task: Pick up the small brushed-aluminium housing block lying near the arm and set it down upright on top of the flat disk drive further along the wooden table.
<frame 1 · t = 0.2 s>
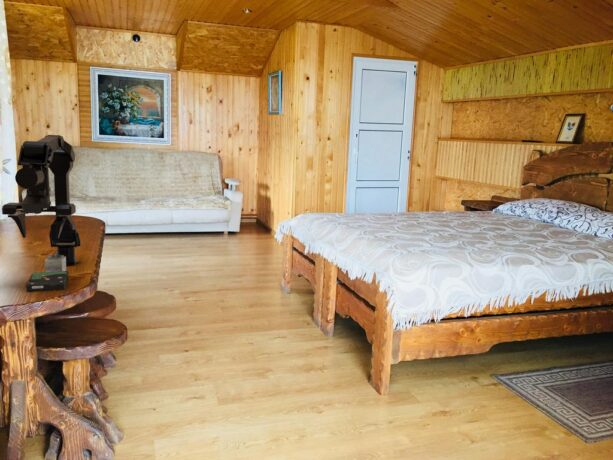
hand: (41, 237, 160), 14 cm above the table, tool pointing down, fingers open, 9 cm apart
disk drive: (48, 286, 162), on the table
housing: (56, 273, 175), on the table
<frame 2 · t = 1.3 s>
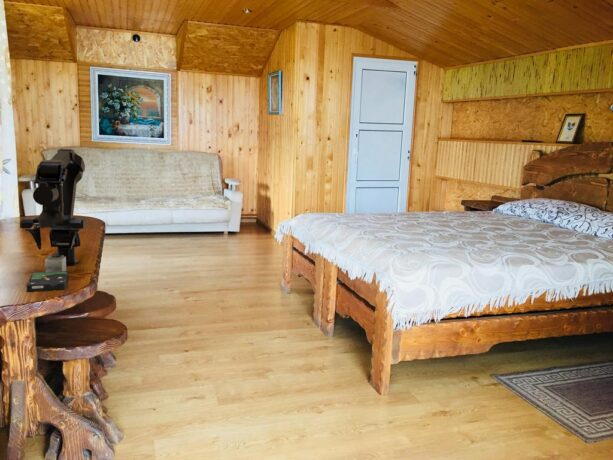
hand: (55, 249, 174), 8 cm above the table, tool pointing down, fingers open, 9 cm apart
nothing on the table moved.
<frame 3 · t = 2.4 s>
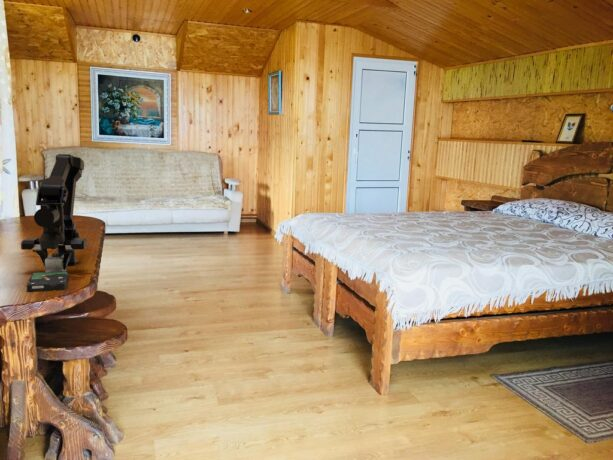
hand: (56, 269, 175), 1 cm above the table, tool pointing down, fingers closed on housing, 5 cm apart
housing: (56, 272, 175), on the table, touching gripper
everything else where it was.
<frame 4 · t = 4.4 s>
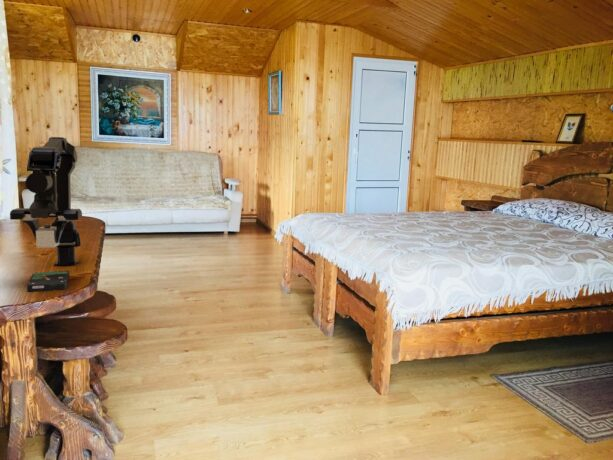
hand: (47, 242, 162), 12 cm above the table, tool pointing down, fingers closed on housing, 5 cm apart
housing: (48, 246, 162), point 11 cm above the table, touching gripper
everything else where it was.
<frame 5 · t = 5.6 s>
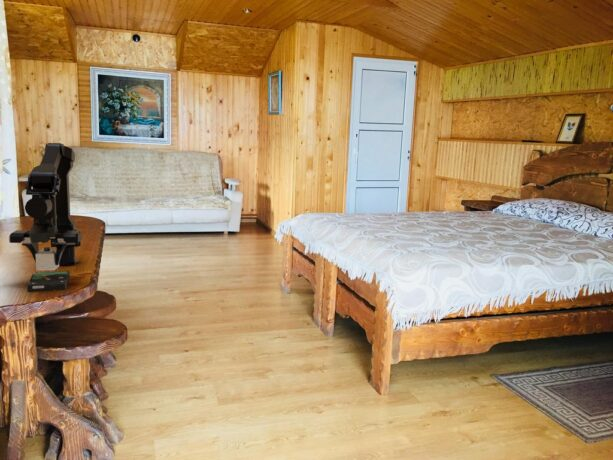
hand: (47, 265, 161), 6 cm above the table, tool pointing down, fingers closed on housing, 5 cm apart
housing: (47, 268, 161), point 5 cm above the table, touching gripper
everything else where it was.
when the fingers open (5 cm above the table, at t = 6.2 s): housing drops 2 cm, resting on disk drive.
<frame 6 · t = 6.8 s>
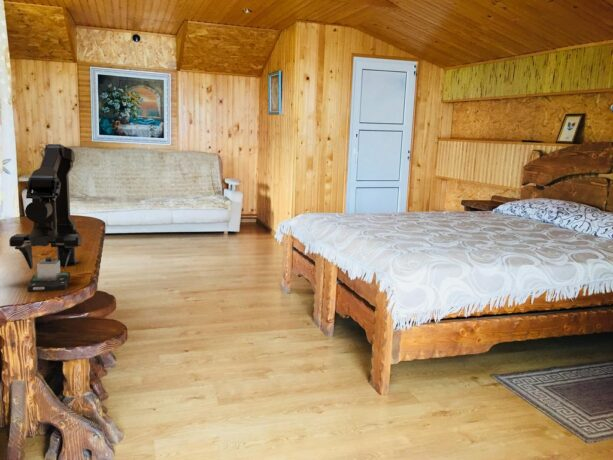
hand: (47, 268, 161), 5 cm above the table, tool pointing down, fingers open, 9 cm apart
disk drive: (50, 287, 162), on the table, touching housing
housing: (49, 278, 162), point 2 cm above the table, touching disk drive
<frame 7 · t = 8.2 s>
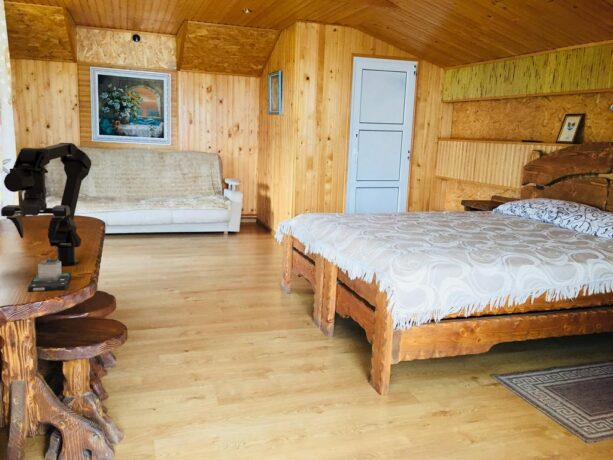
hand: (37, 237, 171), 12 cm above the table, tool pointing down, fingers open, 9 cm apart
nothing on the table moved.
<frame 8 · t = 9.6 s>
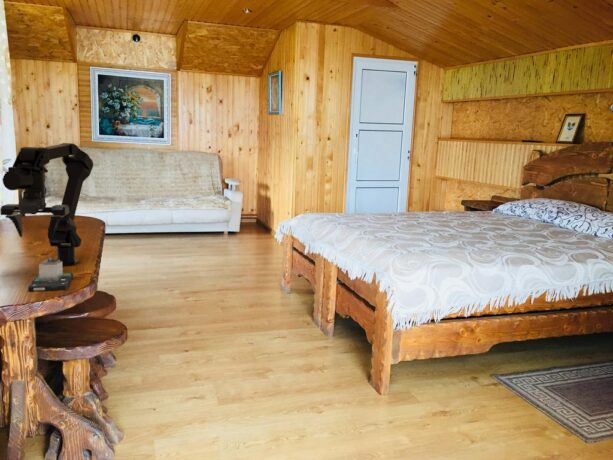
hand: (36, 236, 172), 12 cm above the table, tool pointing down, fingers open, 9 cm apart
nothing on the table moved.
at the end: housing inside the target area on the disk drive (0.1 cm from its centre), point 2.8 cm above the disk drive's base; housing tilted 0°; the gripper is holding nothing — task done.
